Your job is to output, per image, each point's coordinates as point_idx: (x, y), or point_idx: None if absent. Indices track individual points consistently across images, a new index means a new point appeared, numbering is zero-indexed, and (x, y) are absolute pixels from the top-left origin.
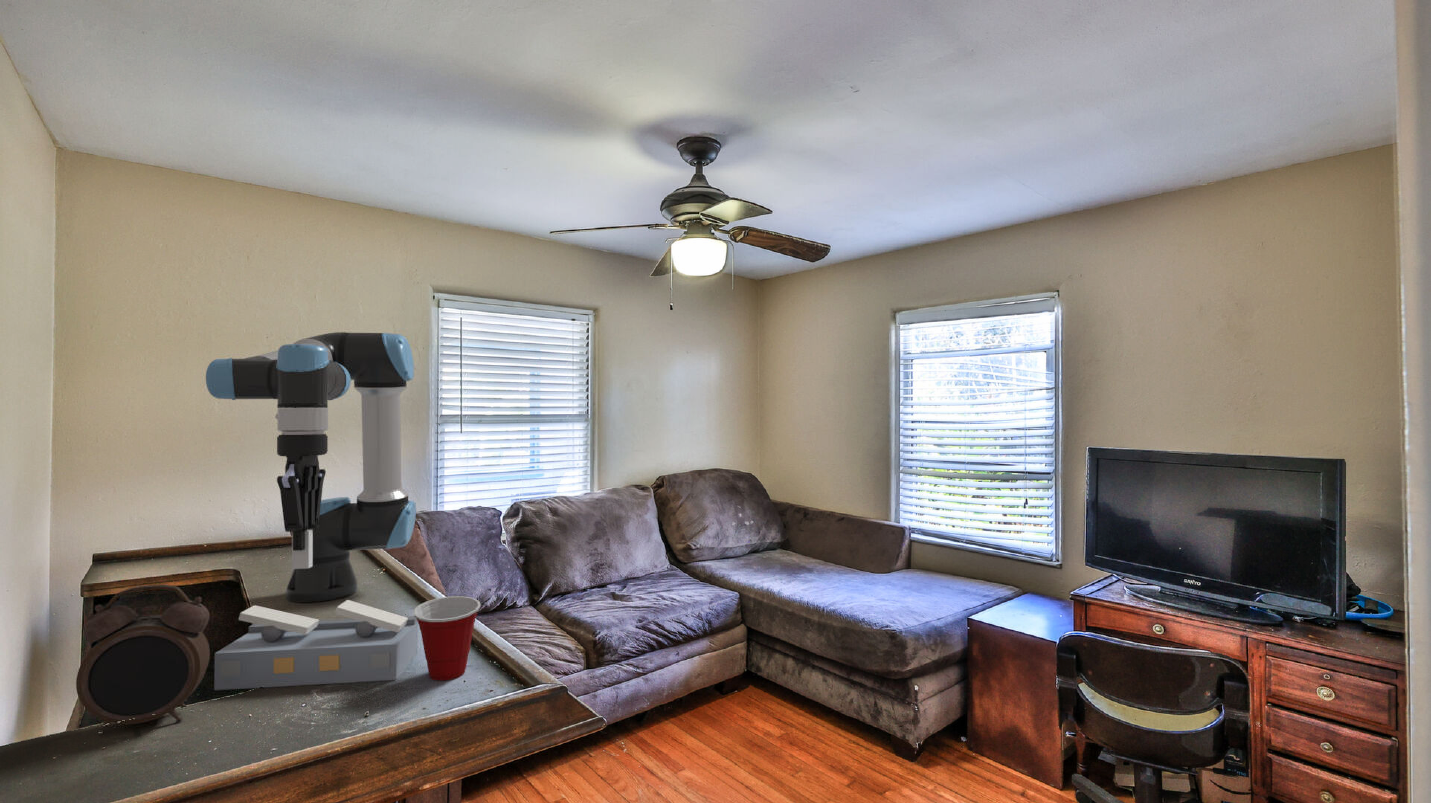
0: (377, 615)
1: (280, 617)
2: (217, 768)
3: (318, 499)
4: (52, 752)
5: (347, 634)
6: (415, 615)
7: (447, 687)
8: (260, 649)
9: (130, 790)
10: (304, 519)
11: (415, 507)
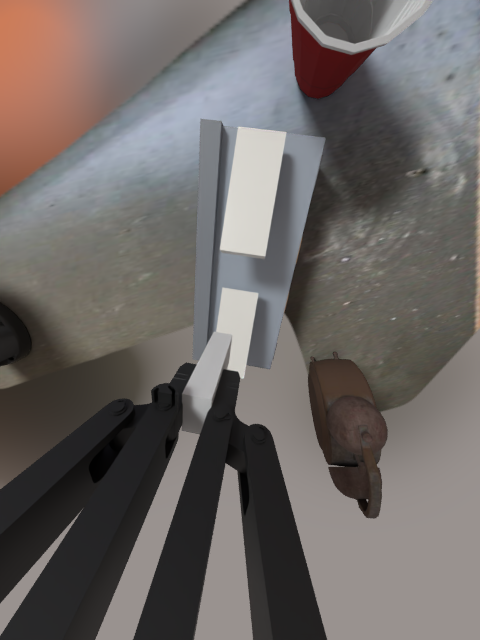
0: (261, 183)
1: (237, 333)
2: (465, 295)
3: (23, 511)
4: None
5: None
6: (397, 34)
7: (383, 48)
8: (273, 331)
9: (461, 344)
10: (226, 453)
11: None
